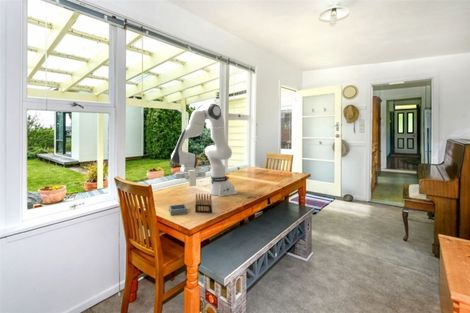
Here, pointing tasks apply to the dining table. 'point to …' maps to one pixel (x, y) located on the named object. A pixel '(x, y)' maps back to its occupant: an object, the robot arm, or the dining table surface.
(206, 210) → the ammunition clip
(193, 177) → the cream block
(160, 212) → the dining table surface
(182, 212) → the box
